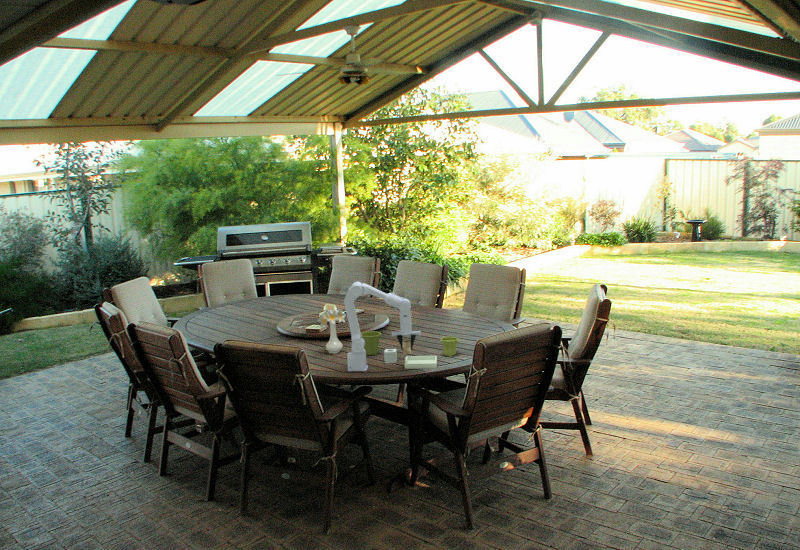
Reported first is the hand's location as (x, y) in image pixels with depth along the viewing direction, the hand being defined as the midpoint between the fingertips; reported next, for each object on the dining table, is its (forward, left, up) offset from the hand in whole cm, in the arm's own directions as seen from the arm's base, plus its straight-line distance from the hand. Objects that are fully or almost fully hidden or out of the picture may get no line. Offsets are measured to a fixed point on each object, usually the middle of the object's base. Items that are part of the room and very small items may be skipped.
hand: (407, 349), depth 315 cm
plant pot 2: (+22, +21, -9) cm, 31 cm away
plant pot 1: (-21, +27, -9) cm, 36 cm away
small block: (0, 0, -2) cm, 2 cm away
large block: (-9, +11, -9) cm, 17 cm away
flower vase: (-42, +31, -9) cm, 53 cm away
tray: (+7, +4, -9) cm, 12 cm away
